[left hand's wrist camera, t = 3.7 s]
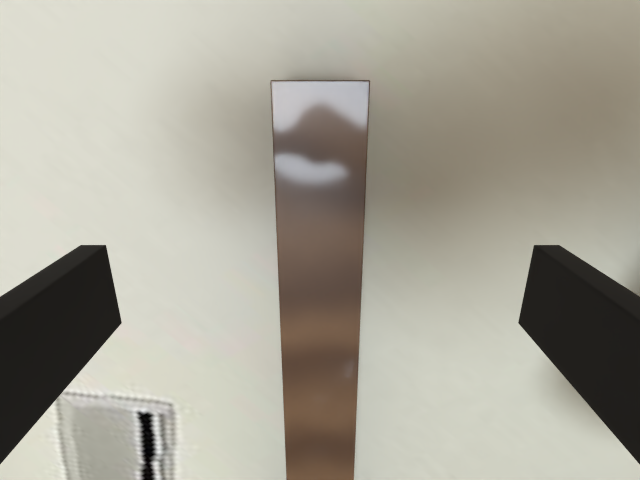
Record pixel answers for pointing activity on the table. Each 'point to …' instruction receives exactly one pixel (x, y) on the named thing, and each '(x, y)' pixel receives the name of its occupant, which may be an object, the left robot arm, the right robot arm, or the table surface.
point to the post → (320, 266)
